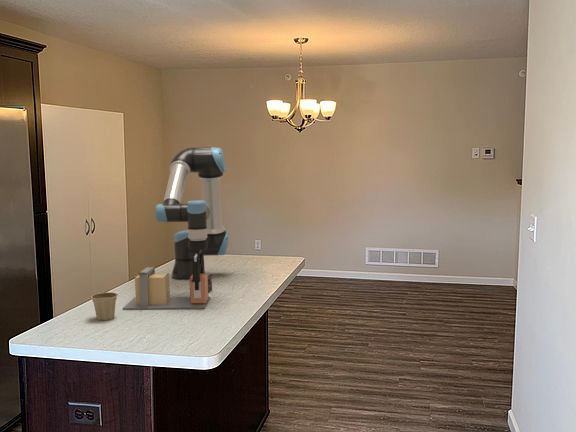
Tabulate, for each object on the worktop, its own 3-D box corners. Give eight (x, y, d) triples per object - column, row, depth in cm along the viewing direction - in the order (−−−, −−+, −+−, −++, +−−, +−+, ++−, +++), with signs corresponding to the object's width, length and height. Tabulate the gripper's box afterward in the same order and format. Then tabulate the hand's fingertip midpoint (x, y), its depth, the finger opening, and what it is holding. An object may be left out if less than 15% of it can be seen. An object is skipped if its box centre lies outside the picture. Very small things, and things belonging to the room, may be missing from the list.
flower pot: (103, 323, 199) (102, 299, 198) (86, 319, 204) (85, 296, 203) (124, 316, 207) (123, 294, 206) (107, 313, 212) (106, 291, 211)
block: (193, 298, 228) (192, 273, 226) (208, 298, 227) (207, 273, 226) (190, 303, 221) (189, 277, 219) (205, 303, 220) (204, 277, 219)
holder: (134, 299, 232) (132, 265, 231) (210, 298, 232) (209, 265, 231) (122, 309, 216) (121, 274, 215) (204, 309, 216) (203, 273, 215)
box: (207, 293, 241) (207, 277, 241) (194, 293, 243) (194, 276, 242) (212, 290, 247) (211, 274, 247) (199, 289, 249) (199, 273, 248)
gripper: (192, 235, 232) (194, 289, 234) (183, 243, 211) (185, 301, 214) (210, 235, 231) (212, 289, 234) (203, 243, 211) (204, 301, 214)
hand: (199, 295), depth 224 cm, fingers open, 7 cm apart
